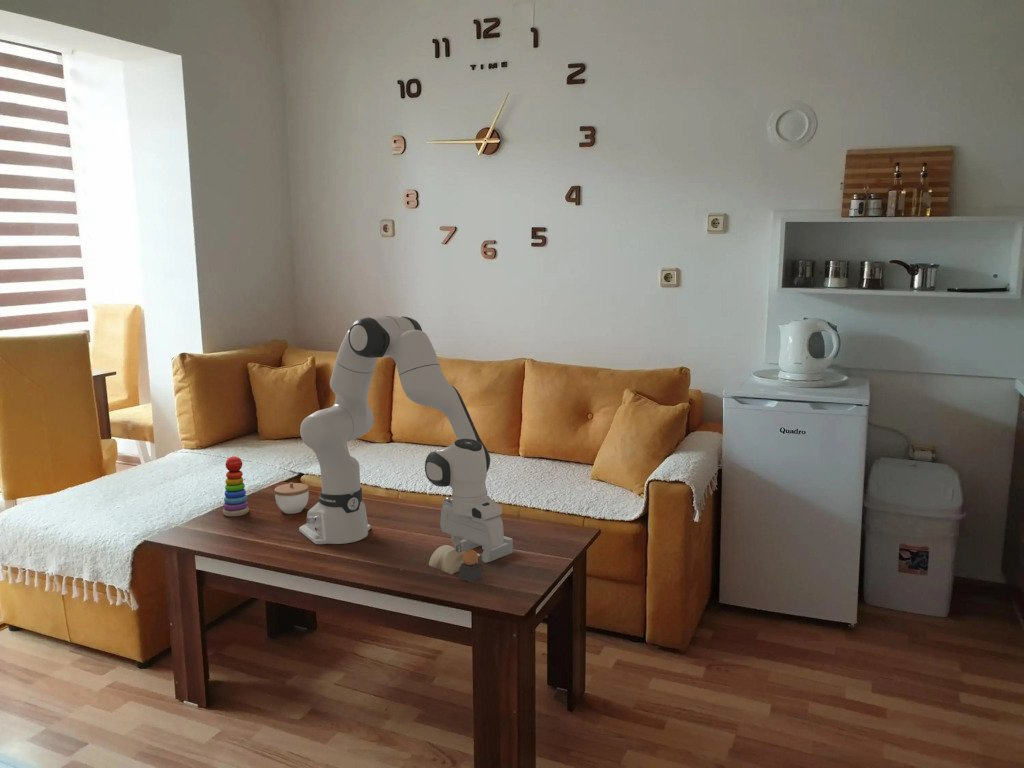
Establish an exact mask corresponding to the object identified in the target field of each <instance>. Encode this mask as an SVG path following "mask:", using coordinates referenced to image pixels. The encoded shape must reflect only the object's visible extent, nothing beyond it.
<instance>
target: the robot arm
mask: <svg viewBox="0 0 1024 768" xmlns="http://www.w3.org/2000/svg"><path fill="white" fill-rule="evenodd" d="M431 341H432V340H431V339H430V338H429V336H428V334H427V333H426V332H425V331H423V329H422V326H421V325H420V323H419V322H418V321H417V320H416V319H414V318H411V317H408V316H394V315H382V316H375V317H367V316H366V317H364V318H360V319H358V320H355V321H354V322H353V323H352V324H351V326H350V327H349V329H348V330H347V332H346V333H345V336H344V338H343V339H342V342H341V344H340V347H339V349H338V351H337V354H336V357H335V361H334V365H333V369H332V373H331V376H330V380H329V387H330V389H331V391H332V392H333V393H334V394H335V400H334V403H333V405H332V406H330V407H327V408H323V409H319V410H317V411H314V412H313V413H311V414H309V415H308V416H306V417H305V418H303V420H302V422H301V423H300V429H299V432H300V433H299V434H300V437H301V439H302V442H303V443H304V444H305V445H306V447H308V448H309V449H311V450H312V452H314V454H315V456H316V458H317V460H318V465H319V469H320V480H321V489H319V490H317V492H318V493H317V495H319V496H318V502H317V503H315V504H314V505H313V506H312V507H311V508H310V509H309V510H307V512H306V513H307V514H306V523H304V524H303V525H301V526H299V528H298V531H299V532H300V533H301V534H303V536H305V537H306V538H307V539H309V540H310V541H311V542H312V543H314V544H315V545H325V544H326V545H327V544H331V545H340V544H341V545H342V544H349V543H354V542H355V543H356V542H358V541H361V540H363V539H365V538H366V537H368V535H369V531H370V530H371V529H372V528H371V524H369V523H368V517H367V510H366V504H365V503H364V501H363V494H364V493H363V487H362V486H361V476H360V475H361V473H360V471H361V468H360V462H359V461H358V460H357V459H356V458H355V457H353V455H351V454H350V452H349V448H348V443H349V442H351V441H354V440H357V439H360V438H361V437H363V436H364V435H366V434H367V433H368V432H370V431H371V430H372V429H373V426H374V423H375V417H374V413H373V411H372V409H371V408H370V406H369V402H368V401H369V400H368V399H369V392H370V388H371V383H372V381H373V377H374V373H375V370H376V366H377V361H378V358H391V359H392V360H393V362H394V363H395V365H396V368H397V373H398V377H399V380H400V384H401V387H402V390H403V392H404V395H405V396H406V397H407V398H408V399H409V400H410V401H412V402H413V403H415V404H418V405H420V406H423V407H424V406H425V407H428V408H432V409H435V410H437V411H439V412H441V413H442V414H444V415H445V416H446V418H447V420H448V422H449V424H450V425H451V429H452V430H453V432H454V435H455V437H456V440H454V441H453V443H452V444H450V445H448V446H445V447H442V448H439V449H435V450H433V451H431V452H429V454H427V456H426V459H425V461H424V471H425V476H426V479H427V480H428V482H430V483H431V484H432V485H434V486H435V487H441V488H443V487H450V488H451V489H452V491H451V495H452V496H451V497H448V496H447V497H446V498H444V499H443V500H442V507H441V511H440V519H439V520H440V522H439V523H440V530H441V532H442V533H444V534H448V535H450V539H451V541H452V543H453V547H454V548H455V551H456V552H458V553H460V552H463V545H462V544H461V542H460V541H461V540H464V539H465V540H468V541H470V542H473V543H476V544H479V545H481V549H482V550H483V551H482V553H479V554H480V556H479V561H481V562H483V563H485V562H486V561H488V560H489V553H490V551H491V549H494V548H497V547H499V546H501V545H502V543H503V540H504V536H505V535H504V522H503V519H502V517H501V516H500V515H502V514H503V507H502V506H501V505H500V504H499V503H497V502H496V501H494V500H493V499H492V498H491V497H490V496H489V495H488V489H487V485H486V484H487V483H486V480H487V478H488V474H487V473H488V471H489V469H490V465H491V456H490V452H489V450H488V449H487V447H486V445H485V444H484V442H483V441H482V439H481V438H480V435H479V433H478V430H477V428H476V426H475V425H474V421H473V420H472V417H471V415H470V413H469V410H468V408H467V406H466V403H465V401H464V399H463V398H462V396H461V394H460V392H459V390H458V389H457V388H456V387H454V386H453V385H452V384H451V383H450V382H449V381H448V380H447V379H446V376H445V375H444V373H443V371H442V368H441V364H440V361H439V358H438V355H437V353H436V350H435V348H434V346H433V344H432V342H431Z"/></svg>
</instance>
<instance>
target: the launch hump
mask: <svg viewBox="0 0 1024 768" xmlns="http://www.w3.org/2000/svg"><path fill="white" fill-rule="evenodd" d="M464 552H465V551H463V552H460V553H458V552H456V551H455V546H451V545H447V544H445V545H444V544H443V545H440V546H439V547H437V548H436V549H435V550H434V551H433V553H432V554H431V556H430V559H429V561H428V566H430V567H432V568H435V569H437V570H439V571H441V572H445V573H446V574H449V575H453V574H456V573H459V567H461V564H462V563H464V562H463V559H462V556H463V553H464ZM478 560H479V559H478ZM478 560H477V563H479V561H478Z"/></svg>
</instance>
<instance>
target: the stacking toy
mask: <svg viewBox="0 0 1024 768" xmlns="http://www.w3.org/2000/svg"><path fill="white" fill-rule="evenodd" d="M242 467H243V461H242V459H241V458H240V457H238V456H230V457H228V458H227V459H226V461H225V468H226V470H227V472H226V473H225V477H226V478H225V481H224V482H225V487H224V488H225V491H224V493H223V494H224V496H225V497H224V498H223V504H222V507H223V510H222V513H223V515H224V516H225V517H240V516H244V515H246V514H248V513H249V511H250V508H249V506H248V503H249V502H248V501H247V500H248V496H247V494H246V492H247V491H246V489H245V487H246V484H245V483H244V478H243V474H244V473H243V471H242V470H241V469H242Z"/></svg>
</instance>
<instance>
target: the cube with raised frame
mask: <svg viewBox="0 0 1024 768" xmlns="http://www.w3.org/2000/svg"><path fill="white" fill-rule="evenodd" d="M482 568H483V567H482V566H481V564H480V563H479V562H478V563H477V562H476V563H475V564H474V565H466V564H465V563H462V564H461V567H459V571H458V573H459V579H461V580H463V581H466V582H468V583H472V582H475V581H476V580H480V579H482V577H483V576H482V575H483V571H482Z"/></svg>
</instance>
